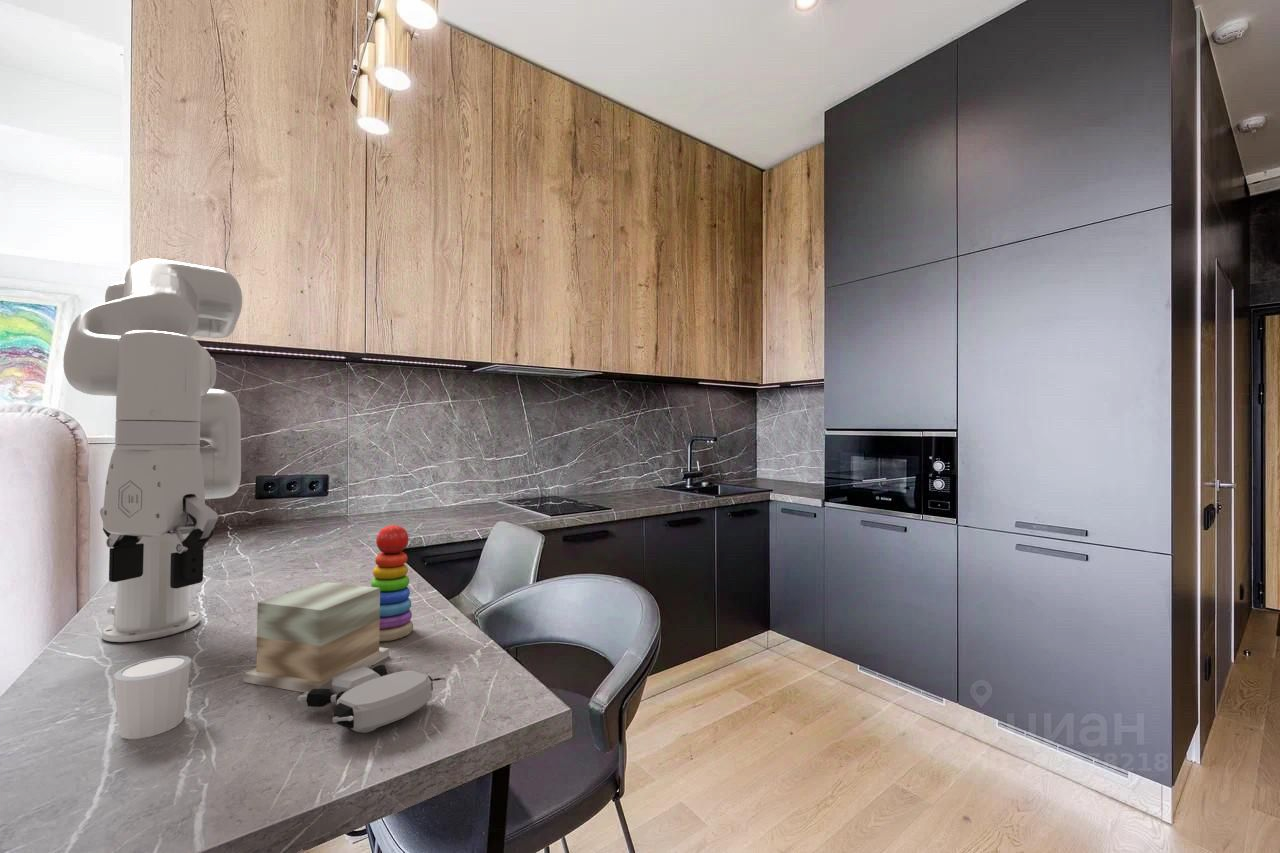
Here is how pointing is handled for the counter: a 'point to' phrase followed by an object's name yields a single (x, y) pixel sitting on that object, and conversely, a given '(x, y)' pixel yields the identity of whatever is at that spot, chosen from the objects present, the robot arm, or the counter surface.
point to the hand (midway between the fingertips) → (155, 582)
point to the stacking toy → (392, 583)
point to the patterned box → (316, 636)
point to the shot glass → (151, 695)
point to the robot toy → (372, 696)
